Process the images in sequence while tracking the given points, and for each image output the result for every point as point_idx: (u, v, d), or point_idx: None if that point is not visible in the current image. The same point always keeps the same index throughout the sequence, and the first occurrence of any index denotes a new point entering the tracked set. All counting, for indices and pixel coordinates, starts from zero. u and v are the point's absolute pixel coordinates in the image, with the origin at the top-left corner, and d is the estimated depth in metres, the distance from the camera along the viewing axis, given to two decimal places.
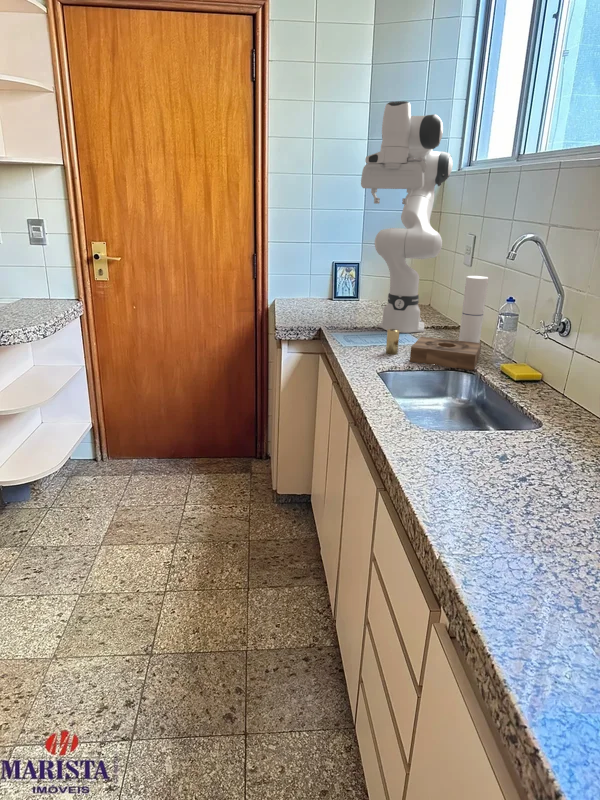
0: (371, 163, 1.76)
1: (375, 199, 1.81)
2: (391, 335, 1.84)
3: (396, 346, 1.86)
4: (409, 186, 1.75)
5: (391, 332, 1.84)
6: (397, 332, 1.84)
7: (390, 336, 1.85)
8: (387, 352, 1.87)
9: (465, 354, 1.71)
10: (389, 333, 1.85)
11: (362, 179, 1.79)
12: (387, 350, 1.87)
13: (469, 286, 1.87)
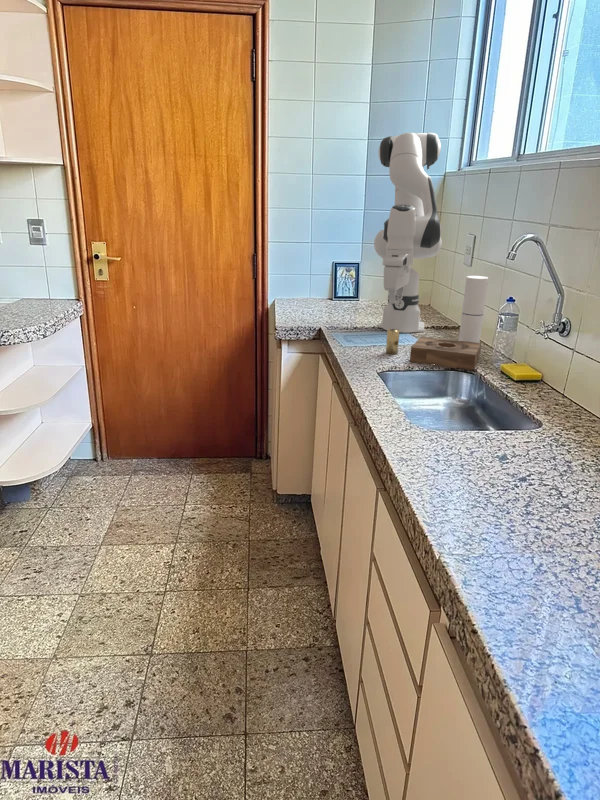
0: (402, 266, 1.71)
1: (395, 299, 1.77)
2: (391, 335, 1.84)
3: (396, 346, 1.86)
4: (406, 283, 1.85)
5: (391, 332, 1.84)
6: (397, 332, 1.84)
7: (390, 336, 1.85)
8: (387, 352, 1.87)
9: (465, 354, 1.71)
10: (389, 333, 1.85)
11: (396, 282, 1.71)
12: (387, 350, 1.87)
13: (469, 286, 1.87)
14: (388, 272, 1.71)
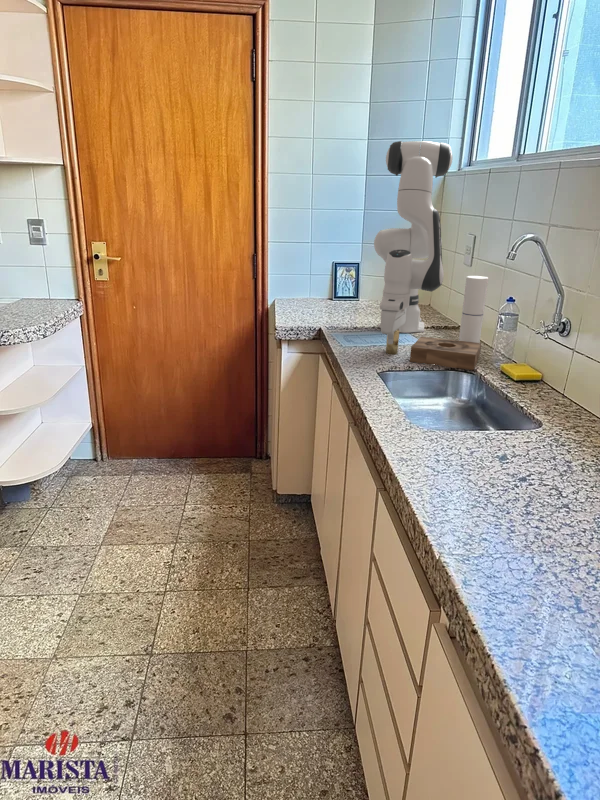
0: (399, 310, 1.76)
1: (393, 340, 1.84)
2: None
3: (396, 346, 1.86)
4: (403, 323, 1.90)
5: None
6: (397, 332, 1.84)
7: None
8: (387, 352, 1.87)
9: (465, 354, 1.71)
10: None
11: (393, 326, 1.75)
12: (387, 350, 1.87)
13: (469, 286, 1.87)
14: (385, 317, 1.75)
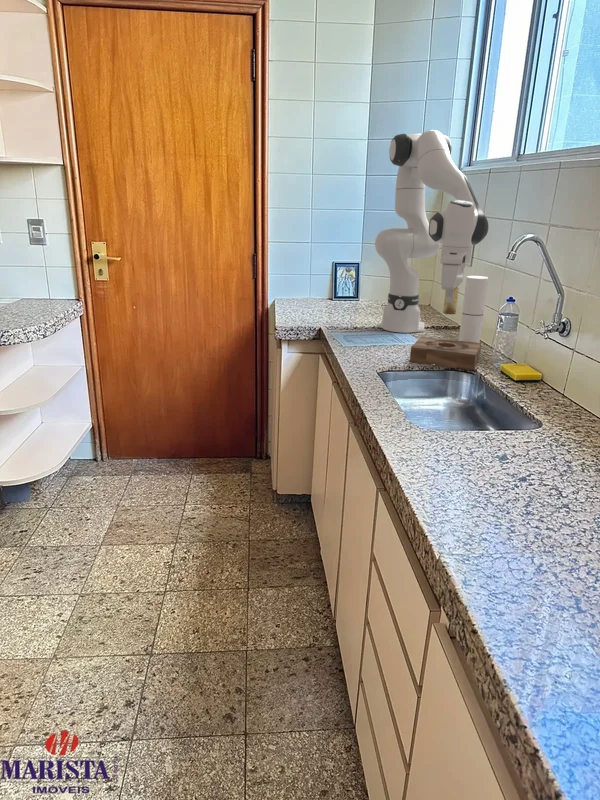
0: (461, 264, 1.64)
1: (452, 298, 1.72)
2: None
3: (455, 305, 1.74)
4: (461, 282, 1.78)
5: None
6: (456, 290, 1.72)
7: None
8: (445, 312, 1.75)
9: (465, 354, 1.71)
10: None
11: (455, 281, 1.64)
12: (445, 310, 1.75)
13: (469, 286, 1.87)
14: (447, 271, 1.64)
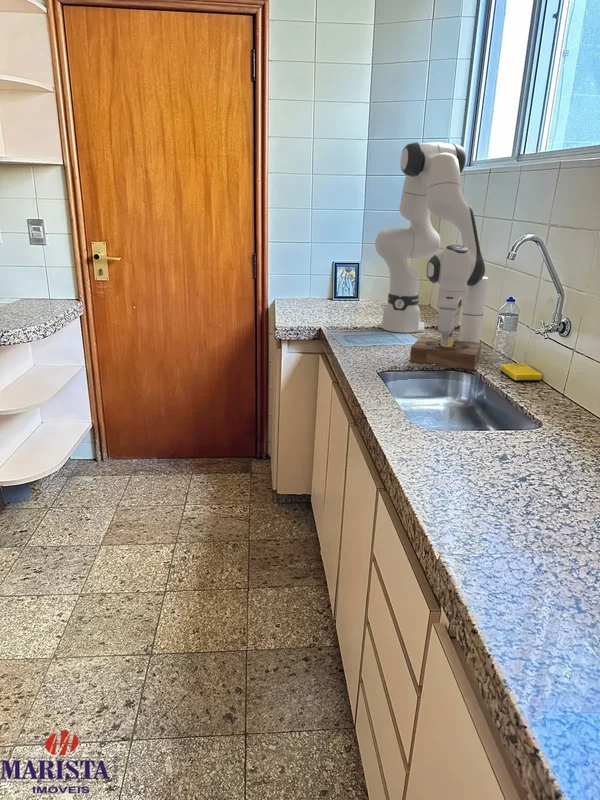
0: (457, 308, 1.69)
1: (448, 340, 1.75)
2: None
3: None
4: (457, 322, 1.82)
5: None
6: (452, 338, 1.78)
7: None
8: None
9: (465, 354, 1.71)
10: None
11: (451, 325, 1.68)
12: None
13: (469, 286, 1.87)
14: (443, 315, 1.68)
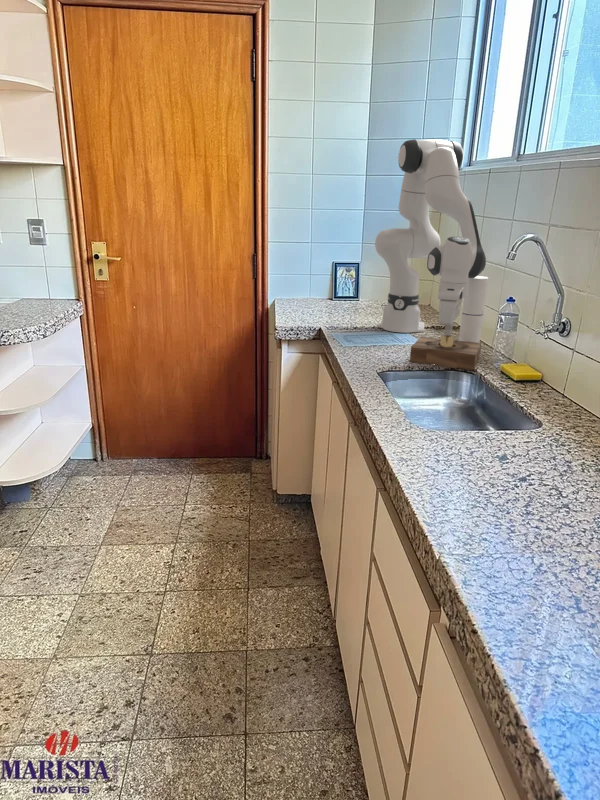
0: (458, 300, 1.68)
1: (450, 330, 1.77)
2: (446, 341, 1.78)
3: None
4: (458, 314, 1.81)
5: (445, 338, 1.77)
6: (452, 338, 1.78)
7: (445, 342, 1.78)
8: None
9: (465, 354, 1.71)
10: (443, 339, 1.78)
11: (452, 317, 1.67)
12: None
13: (469, 286, 1.87)
14: (444, 307, 1.67)
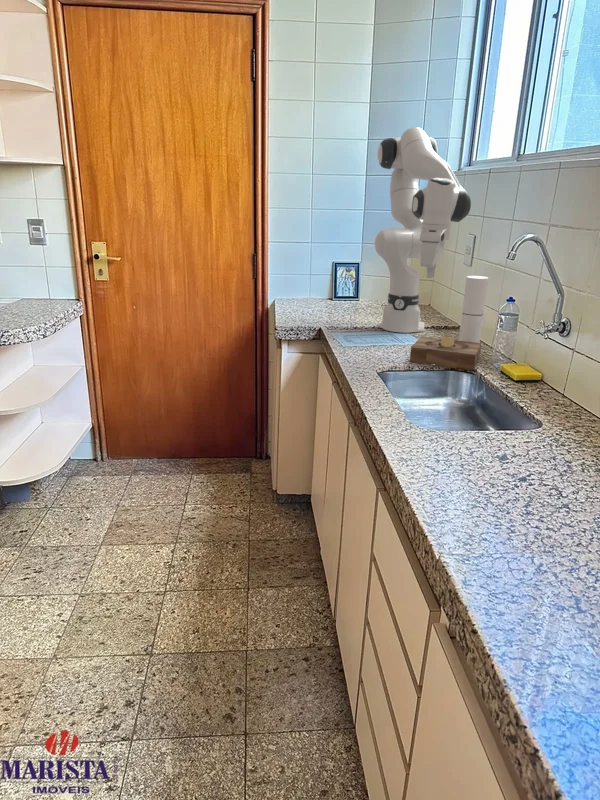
0: (440, 241, 1.68)
1: (432, 274, 1.78)
2: (447, 341, 1.78)
3: None
4: (440, 258, 1.82)
5: (446, 338, 1.78)
6: (453, 338, 1.78)
7: (445, 342, 1.78)
8: None
9: (465, 354, 1.71)
10: (444, 339, 1.78)
11: (434, 258, 1.68)
12: None
13: (469, 286, 1.87)
14: (426, 248, 1.68)
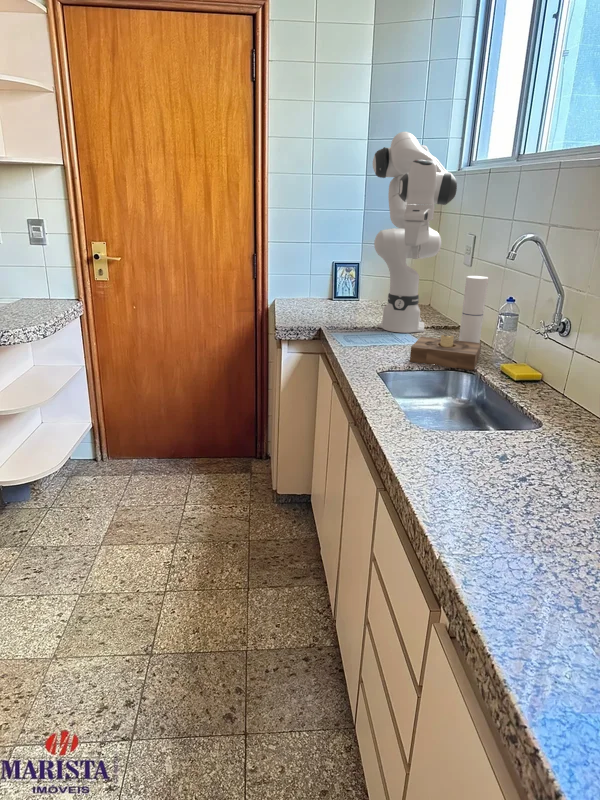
0: (424, 221, 1.71)
1: (417, 255, 1.80)
2: (446, 340, 1.78)
3: None
4: (426, 240, 1.84)
5: (446, 338, 1.78)
6: (452, 337, 1.78)
7: (445, 342, 1.78)
8: None
9: (465, 354, 1.71)
10: (444, 339, 1.78)
11: (417, 237, 1.70)
12: None
13: (469, 286, 1.87)
14: (409, 227, 1.70)
